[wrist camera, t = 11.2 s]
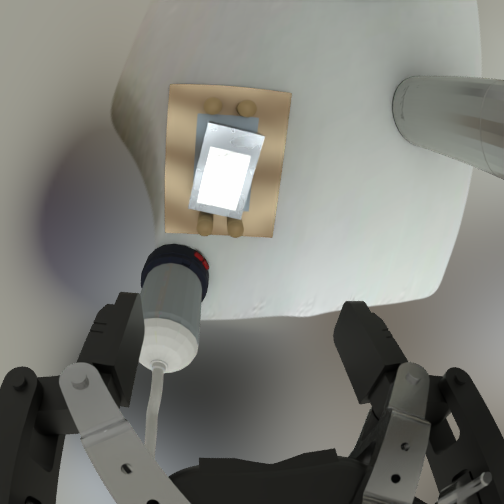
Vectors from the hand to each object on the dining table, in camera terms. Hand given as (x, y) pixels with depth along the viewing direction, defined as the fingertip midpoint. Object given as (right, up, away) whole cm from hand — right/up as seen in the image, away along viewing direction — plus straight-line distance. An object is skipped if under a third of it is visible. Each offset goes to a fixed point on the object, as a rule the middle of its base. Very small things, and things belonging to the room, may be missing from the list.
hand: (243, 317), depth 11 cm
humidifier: (-9, 0, +25) cm, 26 cm away
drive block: (-2, +11, +17) cm, 21 cm away
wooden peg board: (-3, +12, +19) cm, 22 cm away
